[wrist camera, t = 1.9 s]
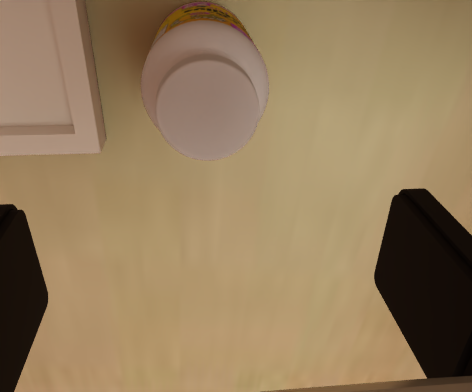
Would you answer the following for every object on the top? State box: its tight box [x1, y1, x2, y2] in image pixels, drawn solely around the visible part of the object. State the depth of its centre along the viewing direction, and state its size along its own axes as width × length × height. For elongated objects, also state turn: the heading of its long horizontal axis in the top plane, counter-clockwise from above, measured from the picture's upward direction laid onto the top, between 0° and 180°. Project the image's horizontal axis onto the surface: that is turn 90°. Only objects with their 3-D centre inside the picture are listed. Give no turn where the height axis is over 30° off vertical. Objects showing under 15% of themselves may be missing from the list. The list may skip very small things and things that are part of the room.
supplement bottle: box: [141, 2, 269, 160], centre depth 24 cm, size 7×7×13 cm
